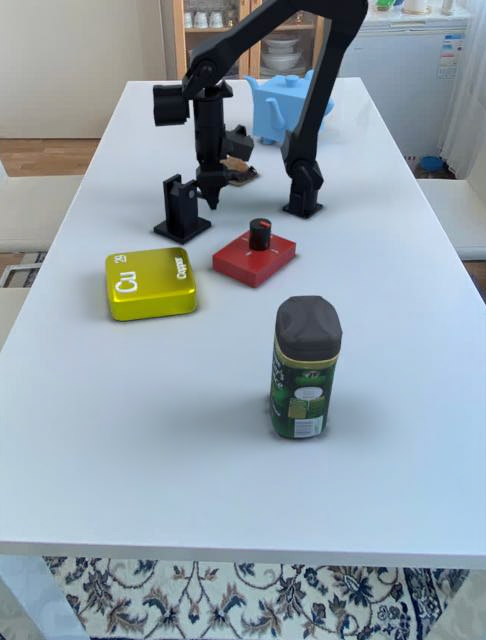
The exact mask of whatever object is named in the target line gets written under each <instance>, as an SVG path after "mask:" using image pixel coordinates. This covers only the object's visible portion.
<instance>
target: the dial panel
mask: <svg viewBox="0 0 486 640" xmlns="http://www.w3.org/2000/svg"><path fill="white" fill-rule="evenodd" d="M296 250H297V242H295V241H292V240H289V239H287V238H284V237H282V236H279V235H277V234H274V233H272V232H271V240H270V247H269V248H268V249H267V250H264V251H255V250H253V249H251V248H250V247H249V229H248V230H247V231H245V232H243V234H241V235H239V236H238V237H236V238H235V239H233V240H232V241H231V242H230V243H228V244H227V245H225V246H224V247H222V248H220V249H219V250H218V251H216V252H214V253H213V254H212V256H211V261H212V263H211V265H212V270H213V271H215V272H218V273H220V274H222V275H224V276H226V277H229V278H230V279H231V278H232V279H233V280H236V281H238V282H241V283H243V284H245V285H246V286H249V287H252V288H254V289H256V288H257V287H259V286H260V285H261V284H263V282H265V281H266V280H267V279H268V278H271V276H273V275H274V274H275V273H276V272H278V271H279V270H280V269H282V268H283V267H284V266H285V265H287V264H288V263H289V262H290V261H291V260H293V259H294V258H295V257H296Z"/></svg>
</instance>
